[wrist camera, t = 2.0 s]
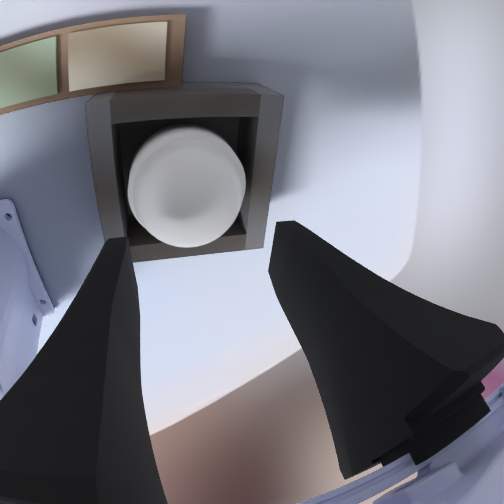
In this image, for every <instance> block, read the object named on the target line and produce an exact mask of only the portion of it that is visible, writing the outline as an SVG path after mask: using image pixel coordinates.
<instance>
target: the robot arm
mask: <svg viewBox="0 0 504 504" xmlns="http://www.w3.org/2000/svg"><path fill="white" fill-rule="evenodd" d="M7 213H9V214H11V216H12V217H9V216H8V215H7ZM268 272H269V275H270V278H271V281H272V284H273V287H274V290H275V293H276V296H277V298H278V300H279V303H280V305H281V307H282V309H283V311H284V313H285V315H286V317H287V319H288V321H289V323H290V325H291V327H292V329H293V331H294V333H295V335H296V337H297V339H298V341H299V343H300V345H301V347H302V349H303V351H304V353H305V355H306V357H307V360H308V362H309V364H310V367H311V370H312V373H313V376H314V378H315V381H316V384H317V387H318V389H319V393H320V396H321V399H322V402H323V405H324V408H325V411H326V415H327V418H328V422H329V425H330V429H331V432H332V436H333V440H334V444H335V449H336V453H337V457H338V462H339V467H340V470H341V473H342V475H343V477H344V479H348V478H350V477H353V476H355V475H357V474H359V473H361V472H363V471H366V470H368V469H369V468H372V467H374V466H376V465H378V464H380V463H381V464H382V465H383V467H382V468H380V469H378V470H376V471H374V472H372V473H370V474H368V475H367V476H364V477H362V478H360V479H358V480H356V481H354V482H351V483H349V484H347V485H344V486H342V487H340V488H337V489H335V490H332V491H330V492H327V493H325V494H322V495H319V496H317V497H314V498H311V499H308V500H306V501H303V502H300V503H297V504H358V503H360V502H362V501H364V500H366V499H368V498H370V497H372V496H374V495H376V494H378V493H380V492H382V491H384V490H386V489H388V488H389V487H391V486H393V485H395V484H397V483H398V482H400V481H402V480H403V479H405V478H407V477H408V476H410V475H411V474H413V473H415V472H417V471H418V475H417V477H416V478H415V479H413V480H411V481H409V482H407V483H405V484H403V485H400V486H398V487H396V488H394V489H393V490H391V491H389V492H387V493H386V494H384V495H383V496H381V497H380V498H378V499H377V500H375V501H374V502H373V504H504V383H503V384H502V385H501V386H500V387H499V388H498V389H497V390H496V391H494V392H493V393H492V394H491V395H490V396H489V397H488V398H486V399H485V400H484V399H483V397H482V395H481V393H482V392H483V391H484V390H485V387H484V386H483V384H482V382H481V380H482V379H483V378H484V377H485V376H486V375H487V374H488V373H490V372H491V371H492V369H494V367H495V366H496V365H497V364H498V363H499V362H500V361H501V360H502V359H503V358H504V333H503V332H502V330H501V329H500V328H499V327H498V326H497V325H496V324H493V323H489V322H486V321H482V320H479V319H475V318H472V317H468V316H465V315H462V314H460V313H457V312H454V311H451V310H449V309H446V308H443V307H441V306H438V305H436V304H433V303H431V302H429V301H427V300H425V299H422V298H420V297H418V296H415V295H414V294H412V293H410V292H407V291H405V290H404V289H402V288H400V287H398V286H396V285H394V284H392V283H391V282H389V281H387V280H385V279H383V278H382V277H380V276H378V275H376V274H375V273H373V272H372V271H370V270H368V269H367V268H365V267H364V266H362V265H360V264H359V263H357V262H356V261H354V260H353V259H351V258H350V257H348V256H347V255H345V254H344V253H342V252H341V251H339V250H338V249H336V248H335V247H333V246H332V245H331V244H329V243H328V242H326V241H325V240H323V239H322V238H320V237H319V236H318V235H316V234H315V233H313V232H312V231H310V230H309V229H307V228H306V227H304V226H303V225H301V224H299V223H298V222H296V221H281V222H276V227H275V233H274V239H273V246H272V252H271V258H270V264H269V270H268ZM43 300H45V301H43ZM53 313H54V307H53V305H52V303H51V300H50V298H49V296H48V294H47V292H46V289H45V287H44V285H43V283H42V280H41V278H40V276H39V273H38V271H37V268H36V266H35V263H34V261H33V258H32V256H31V253H30V250H29V248H28V245H27V242H26V239H25V237H24V234H23V231H22V228H21V225H20V222H19V219H18V215H17V212H16V209H15V205H14V203H13V202H12V201H11V200H9V199H3V200H0V504H167V500H166V497H165V494H164V491H163V487H162V484H161V481H160V477H159V473H158V470H157V466H156V462H155V458H154V454H153V450H152V445H151V440H150V436H149V431H148V426H147V420H146V415H145V409H144V403H143V397H142V388H141V370H140V310H139V298H138V287H137V282H136V277H135V272H134V267H133V262H132V257H131V251H130V245H129V240H128V236H126V237H118V238H109V239H107V241H106V242H105V244H104V245H103V247H102V249H101V251H100V253H99V255H98V257H97V259H96V261H95V263H94V264H93V266H92V268H91V270H90V272H89V274H88V275H87V277H86V279H85V281H84V282H83V284H82V286H81V288H80V290H79V291H78V293H77V295H76V296H75V298H74V300H73V301H72V303H71V305H70V306H69V308H68V310H67V311H66V313H65V315H64V316H63V318H62V319H61V321H60V322H59V324H58V325H57V327H56V329H55V330H54V331H53V333H52V334H51V336H50V337H49V339H48V340H47V342H46V343H45V345H44V346H43V347H42V349H41V350H40V351H39V353H38V354H37V348H38V342H39V336H40V330H41V324H42V319H43V316H51V315H53Z"/></svg>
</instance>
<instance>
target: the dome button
mask: <svg viewBox="0 0 504 504" xmlns="http://www.w3.org/2000/svg"><path fill="white" fill-rule="evenodd" d="M245 189H246V179H245V173H244V169H243V166H242V164H241V162H240V160H239V159H238V157H237V156H236V154H235V153H234V151H233V150H232V148H231V147H230V146H229V144H228V143H227V141H226V140H225V139H224V138H223V137H222V136H221V135H220V134H219V133H217V132H216V131H214V130H213V129H211V128H209V127H206V126H204V125H200V124H195V123H177V124H173V125H169V126H166V127H163V128H161V129H159V130H157V131H156V132H154V133H153V134H151V135H150V136H149V137H148V138H146V139H145V140H144V141H143V143H142V144H141V145H140V146H139V148H138V149H137V151H136V153H135V155H134V157H133V159H132V163H131V167H130V175H129V183H128V200H129V205H130V208H131V210H132V212H133V214H134V216H135V218H136V219H137V220H138V222H139V223H140V224H141V225H142V226H143V227H144V228H145V229H146V230H147V231H148V232H149V233H150V234H151V235H153V236H154V237H155V238H157V239H158V240H160V241H162V242H164V243H166V244H169V245H172V246H176V247H185V248H188V247H197V246H201V245H205V244H207V243H210V242H212V241H214V240H216V239H217V238H219V237H220V236H221V235H223V234H224V233H225V232H226V231H227V230H228V229H229V228H230V226H231V225H232V224H233V222H234V221H235V219H236V217H237V215H238V213H239V211H240V208H241V205H242V201H243V198H244V195H245Z"/></svg>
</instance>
